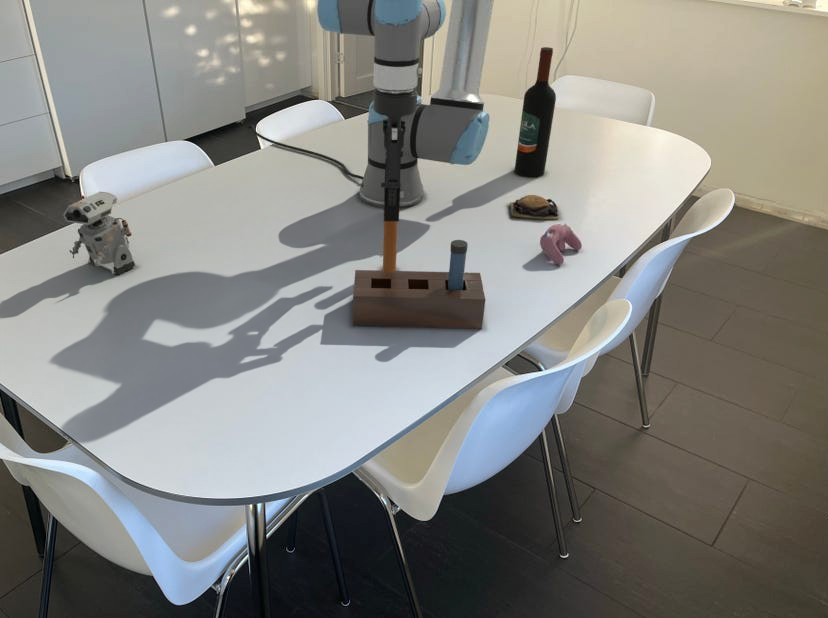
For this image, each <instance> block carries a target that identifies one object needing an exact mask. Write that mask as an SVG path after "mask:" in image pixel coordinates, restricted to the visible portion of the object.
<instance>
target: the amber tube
mask: <svg viewBox="0 0 828 618" xmlns="http://www.w3.org/2000/svg"><path fill="white" fill-rule="evenodd" d="M398 225H399V221H384V220H383V245H382V271H397V253H398V252H397V250H398V249H397V248H398Z"/></svg>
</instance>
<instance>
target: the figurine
mask: <svg viewBox="0 0 828 618" xmlns="http://www.w3.org/2000/svg"><path fill="white" fill-rule="evenodd" d="M80 198H81V199H80V200H78V201H76V202H74V203H72V204H69V205H68V206H67V208H66V210H65V211H64V212H63V214H62V216H63V218H64V219H65V221H66V222H68V223H73V224H78V225H80V227H79V228H78V229H77V233H78V235H79V237H78V240H75V241H74V242H73V244H74V246H73V247H72V250H71V249H69V253H70V254H72V259H75V255H78V254H79V249H80V248H81V247H82V245H81V244H83V245H84V246H85V249H86V251H87V253H88V256H89V257H88V265H91V264H92V263H93V264H94V266H95V267H100V266H101V265H105V264H106V265H107V264H113V273H114V274H117V275H119V276H120V275H122V274H124V273H126V271H130V270H133V269H134V267H136V263H135V260H133V255H132V252H131V251H130V241H129V239H128V237H131V236H132V235H133V234H132V232H131V230H130V227H129V224H128V222H127V220H126V219H124V218H122V217H114V216H111V214H112V210H113V205H115V204H117V203H118V197H117V196H116V195H114V194H112V193H111V192H108V191H107V192H106V191H98V192H96V193H93V194H91V195H89V196H86V197H85V195H81V196H80ZM120 220H121V221H120Z"/></svg>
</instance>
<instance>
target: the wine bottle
mask: <svg viewBox="0 0 828 618" xmlns="http://www.w3.org/2000/svg"><path fill="white" fill-rule="evenodd" d="M539 52H540V53H539V61H538V68H537V74H536V79H535V83H534V84H533V85H532V86H530V87H528V88H527V90H526V92H524V96H523V102H522V111H521V119H520V125H519V126H520V127H519V134H518V141H517V148H516V156H515V164H514V173H515V175H516V176H519V177H522V178H527V179H534V178H536V179H537V178H541V177H543V176H544V175H545V171H546V165H547V160H548V159H547V158H548V153H549V146H550V139H551V133H552V126H553V120H554V114H555V108H556V102H557V95H556V92H555V89H553V87H551V86H550V85H549V78H550V72H551V65H552V60H553V59H552V58H553V54H554V48H553V47H547V46H544V47H543V46H542V47H541V48H540V51H539Z"/></svg>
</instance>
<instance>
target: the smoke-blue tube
mask: <svg viewBox="0 0 828 618" xmlns="http://www.w3.org/2000/svg"><path fill="white" fill-rule="evenodd" d="M467 252H468V242H467V241H466V240H463V239H454V240H452V241H451V242H450V255H449V256H450V257H449V268H448V272H449V279H448V290H463V280H464V272H465V268H466V258H467Z"/></svg>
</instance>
